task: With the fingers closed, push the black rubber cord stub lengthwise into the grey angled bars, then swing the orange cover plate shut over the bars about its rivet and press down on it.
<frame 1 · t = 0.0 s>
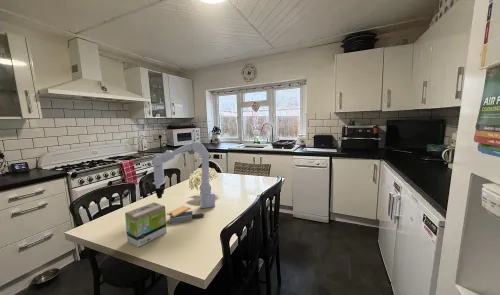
hand: (160, 196, 128), 10 cm above the table, fingers open, 7 cm apart
grey angled bars: (181, 219, 118), on the table
tea box: (148, 237, 100), on the table
cover: (178, 210, 120), point 4 cm above the table, hinge at 45.0°
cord: (196, 217, 120), on the table
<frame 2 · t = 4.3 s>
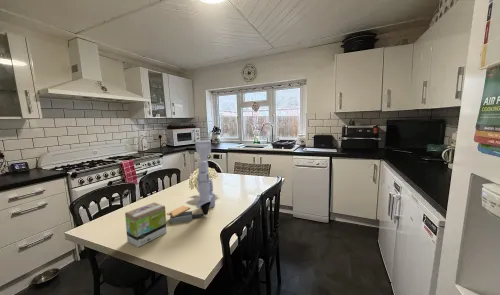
hand: (205, 214, 121), 1 cm above the table, fingers closed
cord: (196, 217, 120), on the table, touching gripper
everything else where it was.
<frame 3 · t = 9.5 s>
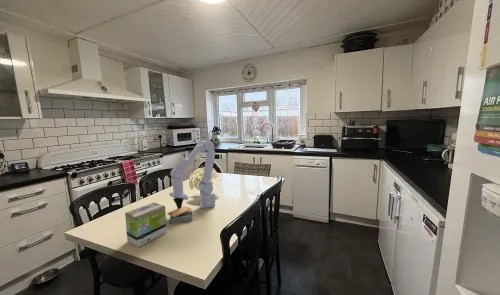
hand: (179, 208, 124), 3 cm above the table, fingers closed, pressing on cover
cover: (179, 210, 120), point 4 cm above the table, hinge at 37.7°, touching gripper
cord: (180, 219, 117), resting in grey angled bars, tilted 29°
everything else where it was.
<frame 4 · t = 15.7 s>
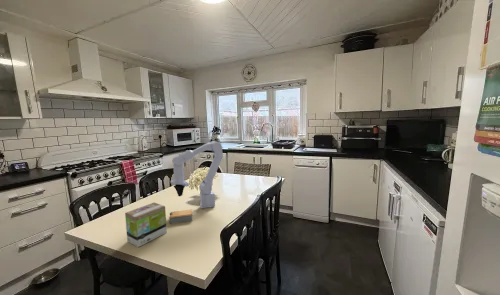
hand: (180, 195, 129), 10 cm above the table, fingers closed
cover: (180, 213, 117), point 4 cm above the table, hinge at -0.9°
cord: (180, 219, 117), resting in grey angled bars, tilted 61°
everything else where it was.
at the end: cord 1.1 cm from the target spot on the grey angled bars, point 0.4 cm above the grey angled bars's base; cover at -1° (first picture: +45°) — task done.
